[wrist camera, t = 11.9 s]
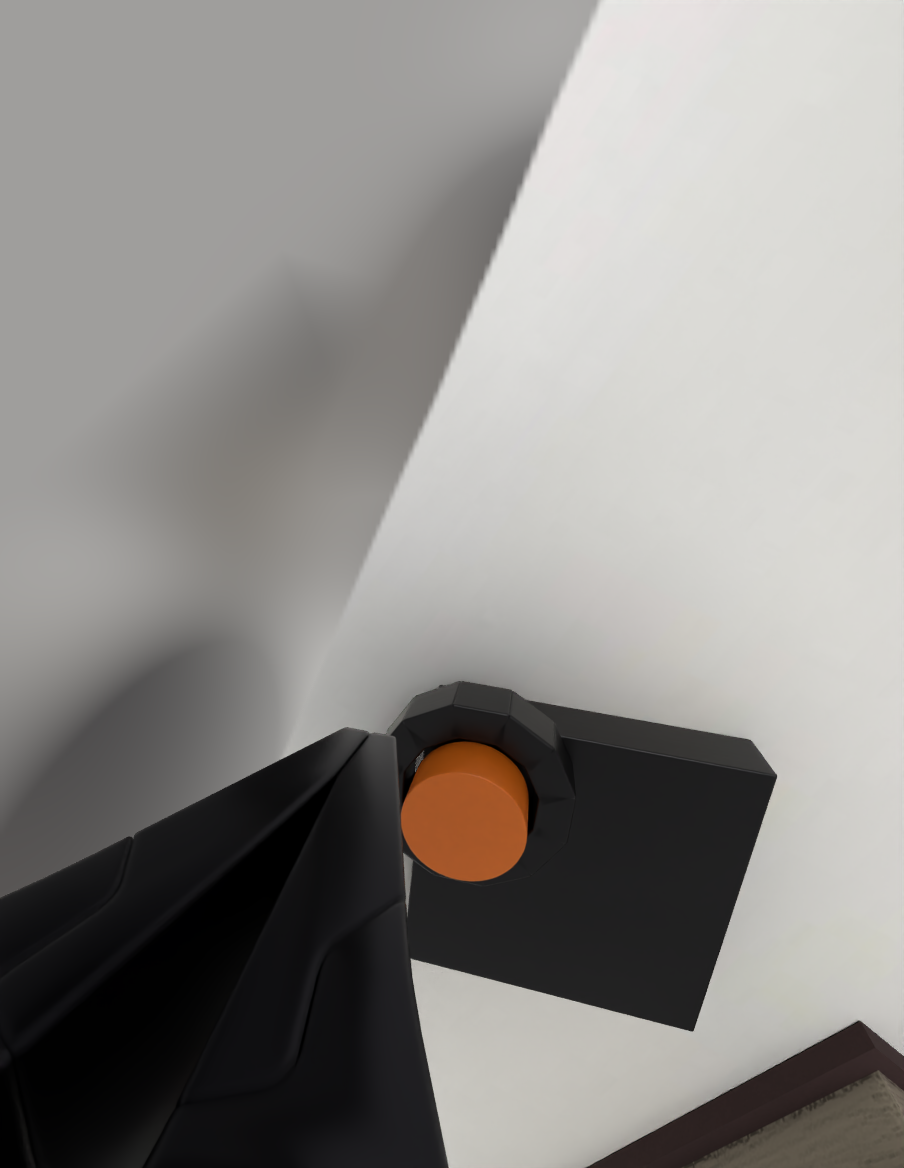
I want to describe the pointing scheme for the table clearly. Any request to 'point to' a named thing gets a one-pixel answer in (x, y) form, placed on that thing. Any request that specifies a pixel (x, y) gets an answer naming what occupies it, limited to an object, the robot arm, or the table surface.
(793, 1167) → the book
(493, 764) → the button
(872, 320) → the table surface
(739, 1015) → the table surface
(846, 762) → the table surface
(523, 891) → the button block
